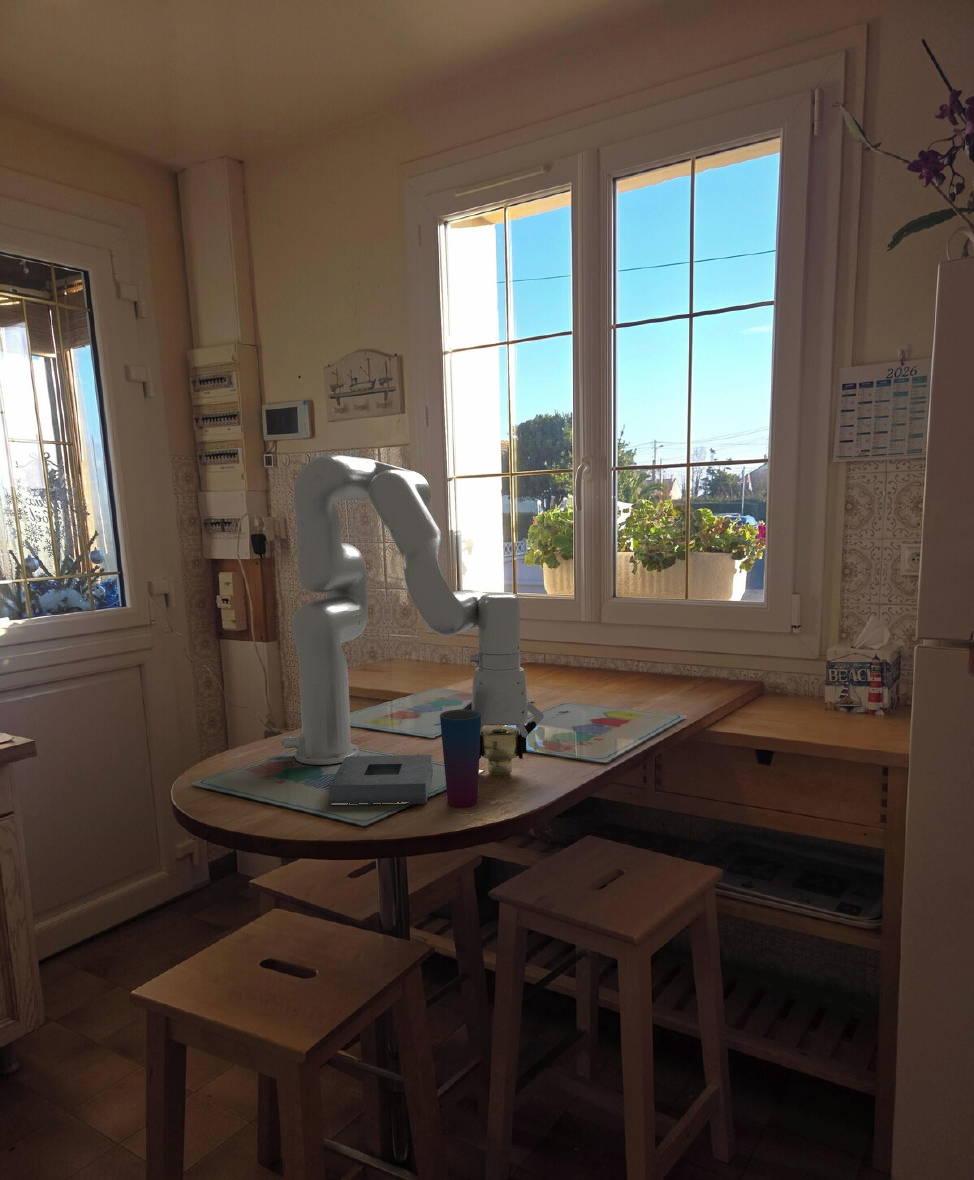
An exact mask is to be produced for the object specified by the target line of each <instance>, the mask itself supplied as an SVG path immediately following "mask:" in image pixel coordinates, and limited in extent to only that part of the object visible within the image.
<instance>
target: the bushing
mask: <svg viewBox="0 0 974 1180" xmlns="http://www.w3.org/2000/svg"><path fill="white" fill-rule="evenodd" d="M480 735H481V758H484V759H487V772H488V773H489V774H490V775H494V776H495V775H496V776H506V775H509V774H511V773H512V772H513V759H516V758H518V757H519V730H518V728H516V727H513V726H508V725H493V726H488V727H485V728H482V729H481V731H480Z"/></svg>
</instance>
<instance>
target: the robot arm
mask: <svg viewBox="0 0 974 1180" xmlns="http://www.w3.org/2000/svg"><path fill="white" fill-rule="evenodd" d="M293 486H294V487H293V504H294V510H295V521H296V523H295V524H296V557H297V559H296V560H297V561H296V562H297V576H298V580H299V583H300V586H301V587H303V589H304V590H305V591H308V592H310V593H319V594H320V593H326V597H325V598H319V599H315V600H312V601H309V602H306V603H304V604H302V606H300V607H299V609H297V610H296V612H295V614H294V616H293V617H292V623H291V624H292V625H291V626H292V627H291V630H292V636H293V641H294V644H295V648H296V653H297V654H296V655H297V660H298V661H297V662H298V674H299V675H298V677H299V698H300V713H301V715H300V716H301V718H300V720H301V734H297V735H296V736H291V735H289V736H281V740H280V741H281V746H282V747H284V749H294V748H295V749H296V751H295V753H294V759H295V760H296V761H297V762H299V763H301V764H305V765H310V766H313V765H315V766H323V765H334V764H340V763H341V764H342V763H343V761H344V759H345V758H346V757H350V756H359V754H360V749H359V746H358V745H357V744H355V743H352V739H351V713H350V711H351V709H350V691H349V690H350V689H349V686H350V685H349V684H350V683H349V670H348V669H349V668H348V667H349V666H348V662H347V659H346V658H347V657H346V655H345V653H344V651H343V647H342V643H343V644H344V643H346V642H349V641H352V640H355V639H356V638H358V637H359V636H361V635H362V633H364V630H366V627H367V623H368V618H369V615H368V614H369V601H368V599H369V598H368V569H367V565H366V561H365V558H364V556H363V554H362V553H361V551H360V550H359V549H358V548H357V547H355V546H354V545H352V544H350V543H346V542H342V535H341V534H342V533H341V532H342V526H341V519H340V515H339V512H338V510H337V508H336V504H335V503H336V502H337V501H340V500H341V501H345V500H346V501H363V502H367V503H369V504H370V503H371V504H372V507H373V508H374V511H376V514H377V515H378V516H379V518H380V520H381V521H382V523H383V526H384V527H385V529H386V531H387V532H388V534H389V536H390V538H391V539H392V540H393V542H394V544H395V547H396V548H397V550H398V551H399V553H400V555H401V557H402V561H403V562H402V563H403V564H402V565H403V574H404V578H405V583H406V588H407V591H408V593H409V596H410V598H411V600H412V602H413V603H414V605H415V607H416V609H417V610H418V612H419V614H420V616H421V617H422V619H423V621H424V622H425V623H426V625H427V626H428V627H429V629H431V630H432V632H435V634H438V635H439V636H442V637H453V636H455V635H458V634H462V633H465V632H467V631H471V630H476V629H478V632H477V633H478V635H477V636H478V652H477V653H476V654H470V663H474V664H476V665H478V667H475V669H474V672H473V677H472V687H471V701H469V702H468V703H466V705H464V706H463V707H462V708H461V709H468V710H475V711H478V712H480V713H481V728H480V732H481V730H482V729H483V727H484V726H515V727H517V728H516V729H518V730H519V756H518V759H520V760H523V758H524V754H526V753H527V737H528V736H529V734H531V733H532V731H533V730H535V729H536V728H537V726H538V725H539V723H541V722H542V720H543V719H544V717H545V715H544V712H543V711H541V710H540V709H539V708H538V707H536V706H535V705H534V704H533V703H532V702H531V701H529V700H528V686H527V685H528V684H527V677H526V672H525V668H523V667H521V605H520V604H521V603H520V602H521V601H520V598H519V597H518V596H517V595H516V594H514V593H510V592H482V591H478V590H472V589H462V590H461V589H460V590H457V591H456V590H455V591H453V590H452V589H451V588H450V586H449V583H447V580H446V579H445V577H444V575H443V571H442V569H441V566H440V563H439V551H440V547H441V546H442V542H443V533H442V531H441V529H440V528H439V526H438V524H437V523H436V521H435V519H434V518H433V516H432V514H431V513H430V511H429V510H428V508H427V507H428V506H429V504H430V502H431V498H432V492H431V487H430V484H429V483H428V481H427V480H426V478H425V477H424V476H423V475H422V474H421V473H418V472H417V471H413V470H411V469H407V468H406V469H405V468H402V467H398V466H395V465H392V464H388V463H384V462H380V461H378V460H374V459H370V458H366V457H358V456H349V455H340V454H327V455H321V456H317V457H315V458H314V459H311V460H310V461H308V462H307V463H306V464H305V465H304V466H303V467H302V468H301V470H300V471H299V473H298V474H297V477H296V479H295V481H294V485H293ZM529 713H530V714H532V715H533V717H532V718H531V719H530V720H529V721H528V717H529ZM527 721H528V722H527ZM525 723H526V724H525ZM481 758H482V756H481V734H480V754H479V760H480V759H481Z"/></svg>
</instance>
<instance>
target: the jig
mask: <svg viewBox="0 0 974 1180" xmlns="http://www.w3.org/2000/svg"><path fill="white" fill-rule="evenodd" d="M433 770H434V769H433V755H432V754H412V755H411V754H410V755H409V754H406V755H405V754H404V755H401V754H400V755H363V756H362V755H361V756H360V755H358V756H350V757H346V758H345V759H344V761H343V762H341V765H340V766H339V768H338V770H337V772H336V773H335V775H334V777H333V778H332V780H331V781H330V784H329V785H328V787H329V789H328V790H329V792H328V793H329V804H330V803H331V804H332V803H348V804H349V803H350V804H359V803H368V804H373V803H381V804H382V803H397V802H399V803H401V802H409V803H411V804H410V805H426V804H427V801H428V796H429V792H430V788H431V787H430V786H431V782H432V778H433V774H432V773H433ZM429 787H430V788H429ZM428 791H429V792H428Z"/></svg>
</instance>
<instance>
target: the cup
mask: <svg viewBox="0 0 974 1180" xmlns="http://www.w3.org/2000/svg"><path fill="white" fill-rule="evenodd" d="M439 721H440V731H441V741H442V742H441V744H442V755H443V767H444V777H445V786H446V797H447V798H446V799H447V804H448V805H449V806H451V807H453V808H459V809H460V808H462V809H463V808H470V807H473V806H475V805H477V804H478V803H479V780H480V779H479V776H480V775H479V774H480V759H479V754H480V735H481V731H480V728H481V713H480V712H478V711H475V710H468V709H462V708H460V709H458V708H457V709H450V710H446V711H443V712H440V714H439Z"/></svg>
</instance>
